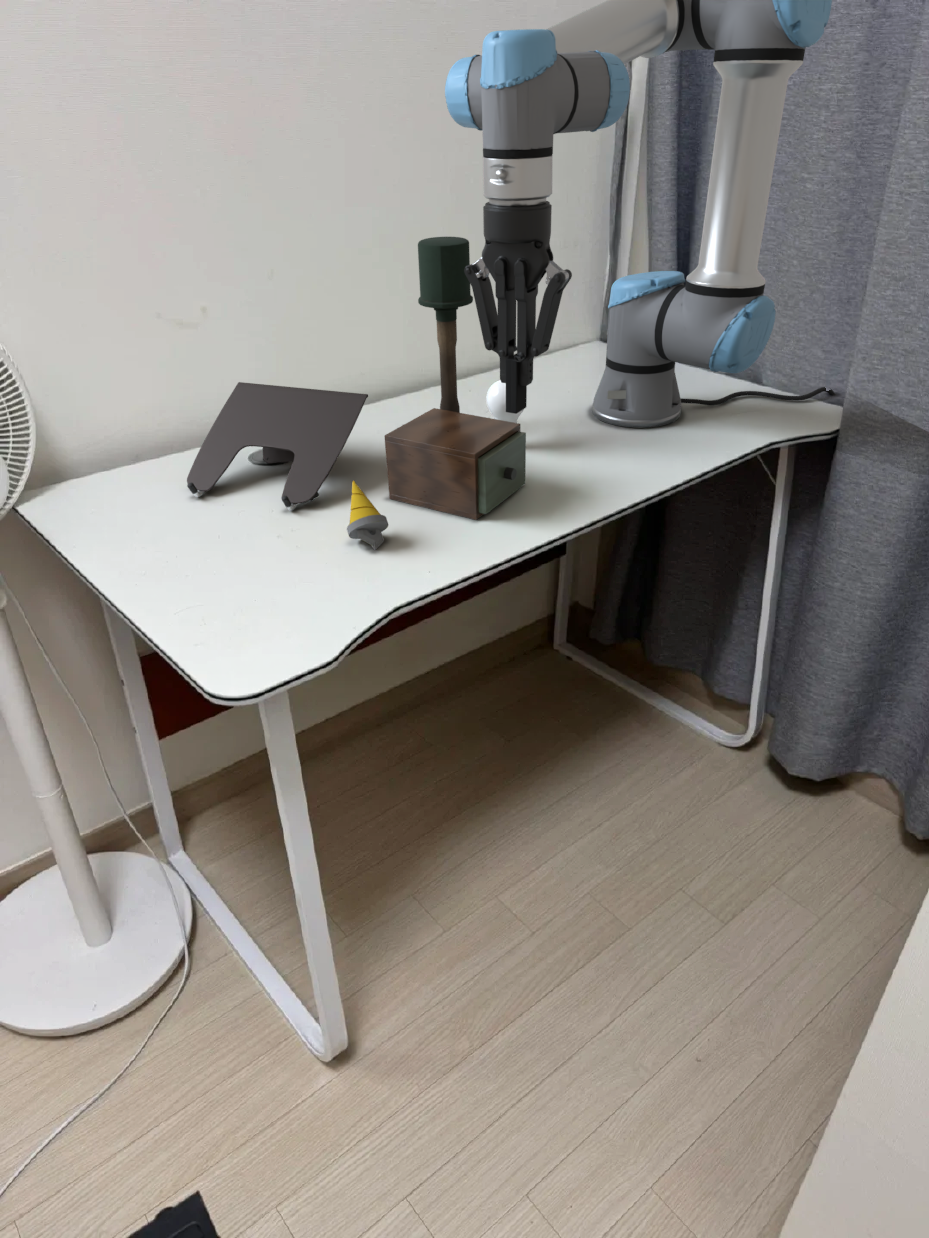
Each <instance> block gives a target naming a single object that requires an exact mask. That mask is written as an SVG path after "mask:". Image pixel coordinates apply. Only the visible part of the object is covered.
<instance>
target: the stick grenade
mask: <svg viewBox="0 0 929 1238" xmlns="http://www.w3.org/2000/svg"><path fill="white" fill-rule="evenodd" d="M470 254H471V253H470V241H469V239H468V238H465V237H461V236H434V237H433V236H432V237H427V238H424V239H423V238H422V239H421V240H419V241H418V243H417V258H418V259H417V260H418V275H419V276H418V277H419V279H418V280H419V297H418V299H417V303H418V305H420V306H421V307H425V308H431V309H433V310H434V311H435V320H436V336H437V337H436V339H437V345H438V349H439V350H438V351H439V352H438V353H439V372H440V373H439V375H440V396H441V397H440V403H439V409H442V410H447V411H453V412H458V413H461V411H460V410H461V409H460V402H459V399H458V378H457V377H458V376H457V373H458V372H457V344H458V343H457V341H458V330H457V327H458V326H457V319H458V315H457V314H458V313H457V311H458V309H459V308H461V307H465V306H468V305H471V304H472V303H473V302H474V296H473V295H472V293H471V284H470V282H469V280H468V279H467V277H466V275H465V273H464V269H465V267H466V266H468V265H470V264H471V258H470V257H471V255H470Z"/></svg>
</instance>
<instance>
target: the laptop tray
mask: <svg viewBox="0 0 929 1238" xmlns="http://www.w3.org/2000/svg"><path fill="white" fill-rule="evenodd" d="M368 397H369V394H367V393H358V392H348V391H337V390H327V389H318V388H317V389H316V388H306V387H296V386H284V385H275V384H262V383H252V382H244V381H243V382H242V381H239V382H237V384H236V386H235V387H234V389H233V390H232V392H231V394H229V396H228V398H227V400H226V402H225V403H224V404H223V407H222V408H221V409H220V411H219V414H218V415H217V417H216V419H215V420H214V422H213V424H212V426H211V428H210V430H209V431H208V433H207V434H206V437H205V439H204V440H203V442H202V444H201V447H200V448H199V450H198V452H197V455H196V457H195V459H194V460H193V463H192V465H191V468H190V470H189V472H188V475H187V477H186V483H187V486H186V487H187V488H188V490H189V491H190V493H191V494H192V495H193V496H194V497H196V498H199V497H201V496H202V495H203V494H204V492H206V493H207V492H209V491H211V490H212V489H213V488H214V486H215V485H216V484H217V483H218V481H219V480H220V479H221V478H222V477H223V475H224V474H225V472H226V471H227V470H228V468H229V467H230V465H231V464H232V462H233V461H234V460H235V458H236V456H237V455H238V454H239V452H241V450H243V449H245V448H248V447H258V448H262V459H263V462H264V463H266V464H272V465H273V464H279V463H281V464H282V463H291V466H290V468H289V471H288V474H287V477H286V480H285V484H284V487H283V491H282V493H281V498H280V499H281V502H282V503H283V504H284V506H285V508H286V509H287V510H288V511H294V510H295V509H296V507H297V505H299V504H305V503H308V502H309V501H310V502H313V501H314V500H315V499H316V498H319V497H320V493H319V490H320V488H321V487H322V486H323V484H324V483H325V481H326V480H327V478H328V476H329V474H330V472H331V471H332V469H333V468H334V465H335V464H336V462H337V461H338V458H339V457H340V454H341V453H342V451H343V449H344V447H345V445H346V443H347V441H348V439H349V437H350V435H351V433H352V431H353V429H354V427H355V425H356V424H357V421H358V418H359V416H360V414H361V412H362V409H363V408H364V405H365V403H366V401H367V399H368Z"/></svg>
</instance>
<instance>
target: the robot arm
mask: <svg viewBox="0 0 929 1238" xmlns="http://www.w3.org/2000/svg"><path fill="white" fill-rule="evenodd" d="M832 4H833V0H605V1H602V2H600V3H599V4H597V5H594V6H592V7H590V8H588V9H586V10H584V11H582V12H579V13H578V14H575V15H574V16H571V17H569V18H567V19H564V20H563V21H560V22H559V23H555V24H554V25H552V26H550V27H548V28H546V29H545V28H544V29H543V28H533V29H531V28H529V29H527V28H525V29H524V28H523V29H505V30H494V31H491V32H489V33H487V34H486V36H485V37H484V39H483V41H482V50H481V54H473V55H472V56H466V57H462V58H460V59H458V60H457V61H455V63H453V65H452V66H451V67H450V69H449V70H448V73H447V76H446V79H445V86H444V97H445V103H446V107H447V111H448V113H449V115H450V117H451V118H452V120H453V122H455V123H456V124H458V125H459V126H460V127H463V128H467V129H476V130H477V131H480V132H482V178H483V179H482V192H483V193H482V194H483V196H484V198H485V199H487V200H488V201H487V202H486V203H484V205H483V207H482V208H483V209H482V210H483V213H482V217H483V219H482V220H483V221H482V222H483V223H482V224H483V238H484V241H485V243H484V246H483V249H482V251H481V257H480V258H479V259H477V260H476V261H475V262H473V263H470V265H468V266H466V267H465V269H464V273H465V275H466V277H467V279H468V280H469V282H470V287H471V290H472V293H473V299H474V303H475V307H476V312H477V317H478V321H479V322H478V323H479V326H480V330H481V336H482V340H483V344H484V348H485V349H486V350H487V351H492V352H494V353H496V354H497V355H498V357H499V380H501V383H506V412H509V413H515V414H517V413H518V412H520V411H521V410H523V409H524V410H525V409H527V402H528V401H527V399H528V398H527V396H528V395H527V392H528V386H529V385H531V384H532V383H533V380H534V359H535V358H536V357H537V358H538V357H539V356H541V355H542V354H544V353H546V352H547V351H549V348H550V344H551V341H552V336H553V333H554V329H555V324H556V321H557V316H558V313H559V310H560V309H559V308H560V304H561V301H562V296H563V293H564V290H565V288H566V287H567V285H568V284H569V283H570V281H571V280H572V277H573V273H572V271H571V269H569V268H566V269H563V268H562V267H560V265H558V264H557V263H556V262H555V261H554V253H553V251H552V248H551V244H550V243H551V235H552V210H553V209H552V206H553V205H552V204H551V203H550V201H548V200H547V198H549V197H551V195H552V194H553V154H554V135H556V134H568V133H569V134H571V133H578V132H590V133H594V132H597V131H598V130H602V129H606V128H609V127H611V126H612V125H613V126H614V124H615V123H617V122H618V121H619V120H620V118H621V117H622V116H623V115H624V113H625V112H626V109H627V106H628V104H629V100H630V93H631V82H630V81H631V80H630V76H629V72H628V70H627V67H626V64H628V63H630V62H632V61H634V60H636V59H638V58H640V57H641V58H644V59H653V58H656V57H659V56H661V55H663V54H665V53H668V52H675V51H686V50H690V51H692V50H693V51H694V50H695V51H696V50H708V51H709V50H711V51H714V54H713V63H712V66H713V68H715V70H716V71H717V72H718V74H719V75H720V77H721V80H722V81H721V89H720V96H719V102H718V103H719V104H718V112H717V117H716V118H717V120H716V127H715V135H714V140H713V141H714V143H713V149H712V157H711V164H710V171H709V172H710V174H709V178H708V179H709V181H708V187H707V196H706V203H705V211H704V218H703V225H702V226H703V227H702V233H701V240H700V248H699V256H698V257H699V258H698V265H697V266H696V268H695V269H693V270H692V271H691V272H689V274H688V275H687V276H686V279H685V273H683V272H682V271H679V270H678V271H677V270H659V271H646V272H640V273H633V274H628V275H625V276H622V277H620V278H618V279H616V280H615V281H614V282H613V283H612V285H611V288H610V294H609V301H608V305H607V309H608V314H607V332H606V333H607V334H606V352H605V368H604V371H603V373H602V376H601V379H600V381H599V384H598V386H597V389H596V392H595V394H594V396H593V401H592V410H591V411H592V412H591V413H592V415H593V416H594V417H595V418H596V419H597V420H599V421H601V422H604V423H606V424H610V425H613V426H617V427H624V428H635V429H636V428H639V429H641V428H656V427H661V426H666V425H670V424H672V423H674V422H676V421H677V420H679V419H680V417H681V415H682V404H690V405H691V404H693V405H701V406H702V405H704V406H715V405H716V406H717V405H720V404H723V403H726V402H728V401H730V400H732V399H735V398H737V397H747V396H748V397H753V396H754V397H762V398H769V399H774V400H781V401H793V402H794V401H795V402H796V401H798V402H799V401H804V400H808V399H811V398H813V397H815V396H817V395H819V394H821V393H824V392H825V393H827V394H828V395H830V396H835V395H836V393H835V391H834V390H833V389H832V388H830V389H831V390H829V391H826V388H825V387H826V386H821V387H818V388H817V389H814V390H813V391H811V392H808V393H806V394H803V395H787V394H779V393H772V392H766V391H759V390H758V391H757V390H741V391H737V392H732V393H730V394H727V395H725V396H724V397H721V398H718V399H711V400H709V399H698V398H682V397H681V393H680V389H679V385H678V380H677V376H676V370H675V369H676V363H679V364H683V365H688V366H692V367H697V368H702V369H707V370H710V372H714V373H718V372H721V373H726V374H727V373H728V374H740V373H743V372H744V371H746V370H748V369H749V368H751V367H752V366H753V365H754V364H755V362H756V361H757V360H758V359H759V358H760V356H761V354H762V353H763V352H764V350H765V348H766V346H767V344H768V343H769V340H770V339H771V338H770V337H771V335H772V332H773V330H774V325H775V321H776V309H775V308H776V305H775V302H774V300H773V299H771V298H770V297H769V296H767V295H764V294H765V293H764V292H765V287H766V283H767V281H766V279H765V277H764V276H763V275H762V273H761V272H760V271H759V269H758V265H759V259H760V253H761V247H762V241H763V235H764V230H765V223H766V217H767V212H768V211H767V210H768V204H769V199H770V198H769V197H770V193H771V187H772V181H773V174H774V168H775V162H776V156H777V152H778V151H777V150H778V145H779V138H780V132H781V126H782V120H783V113H784V108H785V101H786V95H787V90H788V84H789V79H790V78H791V76H792V75H793V74H794V73H795V72H796V71H797V70H798V69H799V68H800V67H801V66H803V64H804V57H805V54H806V48H811V46H814V45H815V44H817V43H818V42H819V41H820V39H821V38H823V37H822V36H823V35H824V33H825V28H826V26H828V22H829V20H830V16H831V11H832ZM545 275H546V277H545ZM490 276H491V278H492V279H493V281H494V283H495V284H494V285H495V296H494V291H493V286H492V282H491V278H490ZM544 277H545V284H546V285H547V286H546V287H545V290H544V293H543V296H542V301H541V305H540V308H539V314H538V318H537V297H538V294H539V284H540V282H541V281H542V280H543V278H544ZM495 298H496V299H497V305H496V300H495ZM536 321H537V322H536ZM515 352H516V353H515ZM524 410H523V411H524Z"/></svg>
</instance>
